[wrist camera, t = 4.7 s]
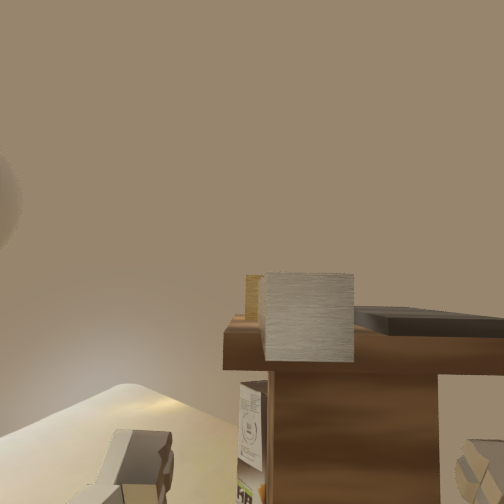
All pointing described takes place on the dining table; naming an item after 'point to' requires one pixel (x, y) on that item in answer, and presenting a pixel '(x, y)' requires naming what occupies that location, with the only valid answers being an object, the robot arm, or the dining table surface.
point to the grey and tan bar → (303, 315)
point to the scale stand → (365, 405)
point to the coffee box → (252, 443)
